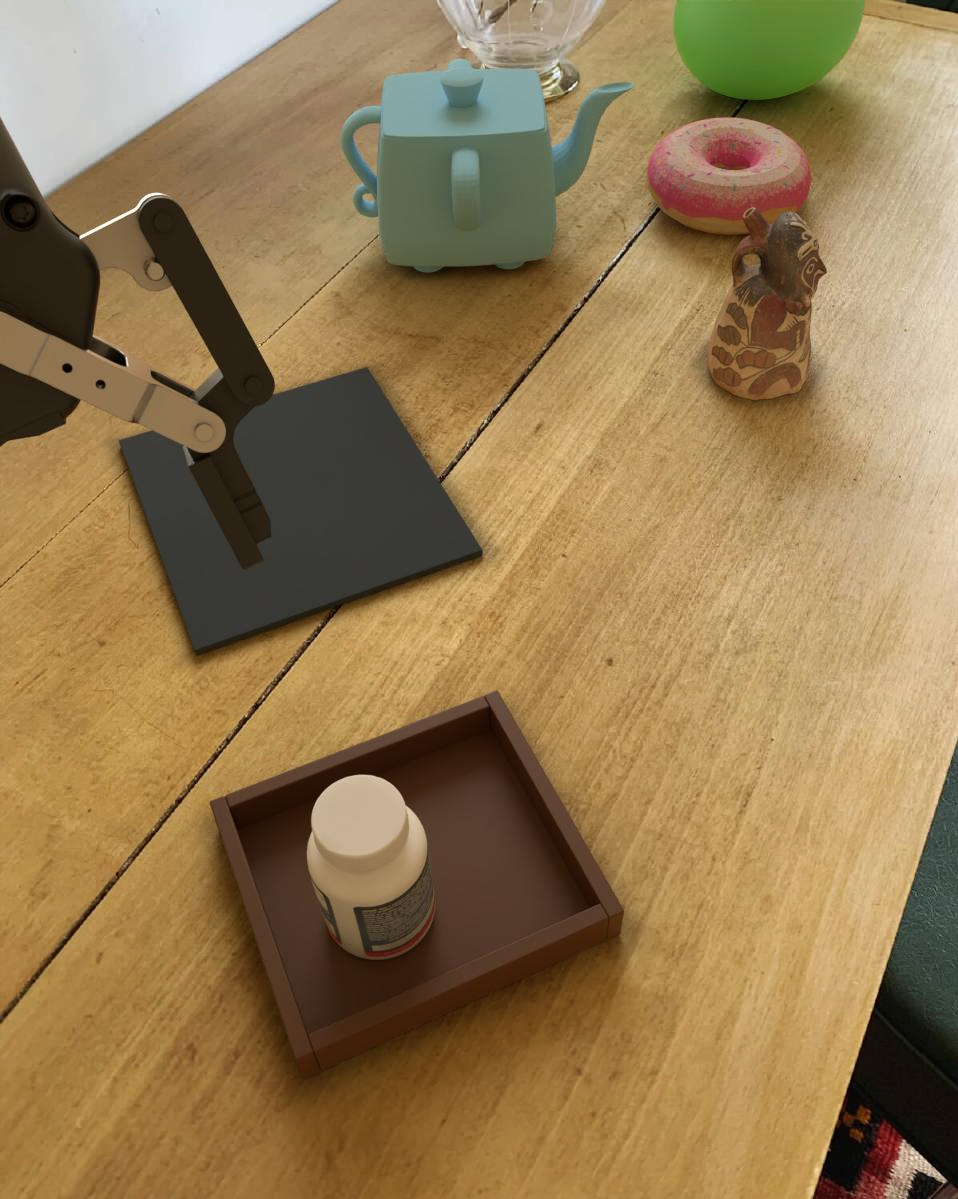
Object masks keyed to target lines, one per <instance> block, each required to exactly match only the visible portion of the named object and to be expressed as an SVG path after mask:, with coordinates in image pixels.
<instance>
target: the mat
mask: <svg viewBox="0 0 958 1199" xmlns="http://www.w3.org/2000/svg"><path fill="white" fill-rule="evenodd" d="M233 442H234V447H235V449H236V451H237V453H238V455H239V457H240V459H241V461H242V463H243V465H244V467H245V469H246V471H247V473H248V475H249V477H250V479H251V481H252V483H253V485H254V487H255V489H256V491H257V493H258V495H259V497H260V499H261V501H262V503H263V505H264V507H265V509H266V511H267V513H268V516H269V518H270V522H271V537H270V538H268V539H266V540H263V541H261V542H259V543H258V546H259V548H260V550H261V553H262V555H263V558H264V561H263V562H261V563H259V564H257V565H254V566H252V567H250V568H248V569H246V570H243V569H242V567H241V566H240V564H239V562H238V560H237V558H236V556H235V554H234V552H233V551H232V549H231V547H230V545H229V543H228V541H227V539H226V537H225V535H224V533H223V531H222V530H221V528H220V526H219V524H218V522H217V520H216V518H215V516H214V514H213V512H212V511H211V509H210V507H209V505H208V503H207V501H206V499H205V497H204V495H203V493H202V492H201V490H200V488H199V486H198V484H197V482H196V480H195V478H194V476H193V474H192V473H191V471H190V469H189V467H188V464H187V460H186V457H185V453H184V450H183V446H184V445H182V444H180V443H177V442H175V441H173V440H171V439H169V438H167V437H165V436H163V435H161V434H159V433H157V432H155V431H153V430H148V431H145V432H142V433H138V434H135V435H131V436H128V437H124V438H121V439H118V444H119V446H120V449H121V451H122V454H123V457H124V461H125V462H126V466H127V468H128V471H129V473H130V476H131V480H132V482H133V485H134V488H135V490H136V493H137V496H138V499H139V502H140V504H141V508H142V509H143V512H144V515H145V518H146V520H147V521H146V522H147V524H148V527H149V530H150V532H151V534H152V537H153V540H154V543H155V546H156V548H157V552H158V554H159V557H160V559H161V562H162V565H163V568H164V571H165V573H166V576H167V578H168V581H169V584H170V587H171V590H172V592H173V595H174V598H175V600H176V604H177V606H178V609H179V613H180V615H181V617H182V620H183V623H184V626H185V629H186V632H187V634H188V636H189V639H190V642H191V645H192V648H193V650H194V653H195V655H196V656H200V655H202V654H204V653H208V652H210V651H213V650H217V649H218V648H221V647H224V646H227V645H230V644H234V643H236V642H239V641H242V640H245V639H247V638H251V637H253V636H256V635H258V634H262V633H264V632H267V631H271V630H273V629H275V628H279V627H283V626H285V625H287V624H290V623H293V622H295V621H298V620H302V619H306V618H307V617H310V616H313V615H316V614H318V613H321V612H324V611H327V610H330V609H333V608H336V607H339V606H342V605H344V604H347V603H350V602H353V601H355V600H359V599H362V598H364V597H367V596H370V595H373V594H375V593H379V592H381V591H384V590H387V589H390V588H393V587H395V586H398V585H401V584H405V583H408V582H410V581H412V580H416V579H418V578H421V577H424V576H427V575H430V574H433V573H435V572H439V571H441V570H444V569H447V568H450V567H453V566H455V565H458V564H461V563H465V562H467V561H471V560H473V559H475V558H478V557H482V556H483V555H484V554H483V552H484V551H483V548H482V547H481V545H480V544H479V542H478V540H477V539H476V537H475V536H474V534H473V532H472V531H471V529H470V528H469V526H468V525H467V523H466V521H465V520H464V518H463V517H462V515H461V513H460V511H459V510H458V508H457V507H456V505H455V504H454V502H453V500H452V499H451V497H450V496H449V494H448V493H447V491H446V490H445V488H444V486H443V484H442V483H441V481H440V479H438V476H437V475H436V474H435V472H434V471H433V469H432V467H431V466H430V464H429V462H428V461H427V459H426V458H425V456H424V454H423V453H422V452H421V450H420V448H419V447H418V445H417V444H416V442H415V440H414V439H413V437H412V436H411V434H410V433H409V431H408V429H407V428H406V426H405V425H404V423H403V421H402V420H401V418H400V417H399V415H398V414H397V412H396V410H395V408H394V407H393V405H392V404H391V402H390V400H389V399H388V398H387V396H386V395H385V393H384V391H383V389H382V388H381V386H380V385H379V384H378V381H377V380H376V378H375V377H374V375H373V374H372V372H371V371H370V369H369V367H367V366H366V367H365V366H364V367H362V368H358V369H355V370H351V371H348V372H345V373H341V374H338V375H335V376H332V377H328V378H325V379H321V380H317V381H314V382H311V383H308V384H304V385H301V386H297V387H294V388H290V389H288V390H287V389H286V390H283V391H280V392H277V393H273V395H272V397H271V398H270V399H269V400H268V401H267V402H266V403H264V404H262V405H259V406H255V407H254V408H253V409H252V410H251V411H250V412H249V413H248V414H247V415H246V416H245V417H244V418H243V419H242V420H241V421H240V422H239V423H238V425H237V427H236V429H235V431H234V437H233Z"/></svg>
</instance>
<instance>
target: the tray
mask: <svg viewBox="0 0 958 1199" xmlns="http://www.w3.org/2000/svg"><path fill="white" fill-rule="evenodd" d="M354 775H371V776H375V777H380V778H382V779H384V780H386V781H388V782H389V783H391V784H392V785H393V786H394V787H395V788H396V789H397V790H398V791H399V792H400V794H401V796H402V797H403V800H404V802H405V805H406V806H407V807H408V808H410V809H411V810H412V811H413V812H414V814H415V815H416V816H417V817H418V819H419V820H420V822H421V824H422V826H423V828H424V831H425V834H426V839H427V844H428V850H429V858H430V865H431V872H432V879H433V886H434V892H435V913H434V917H433V921H432V923H431V926H430V928H429V930H428V931H427V933H426V934H425V936H424V937H423V938H422V939H421V941H420V942H419V943H418V944H417V945H416V946H414V947H413V948H412V949H410V950H409V951H407V952H405V953H404V954H402V955H399V956H397V957H394V958H390V959H384V960H370V959H365V958H361V957H358V956H355V955H353V954H351V953H349V952H347V951H346V950H345V949H343V948H342V947H341V946H340V945H339V944H338V943H337V942H336V941H335V940H334V939H333V937H332V936H331V934H330V932H329V930H328V928H327V925H326V922H325V919H324V916H323V914H322V910H321V908H320V905H319V902H318V899H317V896H316V893H315V889H314V886H313V883H312V880H311V876H310V874H309V869H308V863H307V846H308V841H309V838H310V835H311V833H312V825H311V816H312V811H313V808H314V805H315V803H316V801H317V799H318V798H319V796H320V795H321V794H322V793H323V792H324V790H325V789H327V788H328V787H329V786H330V785H332V784H333V783H335V782H337V781H339V780H341V779H343V778H346V777H349V776H354ZM209 807H210V809H211V813H212V815H213V818H214V821H215V824H216V828H217V830H218V833H219V836H220V840H221V842H222V845H223V848H224V851H225V854H226V857H227V861H228V862H229V866H230V869H231V872H232V876H233V878H234V881H235V883H236V887H237V890H238V892H239V896H240V898H241V902H242V904H243V908H244V910H245V913H246V916H247V920H248V922H249V925H250V928H251V931H252V934H253V937H254V940H255V944H256V946H257V949H258V952H259V955H260V958H261V961H262V964H263V967H264V971H265V974H266V977H267V979H268V984H269V985H270V989H271V991H272V994H273V997H274V1001H275V1004H276V1006H277V1009H278V1012H279V1016H280V1018H281V1021H282V1025H283V1028H284V1030H285V1034H286V1037H287V1039H288V1042H289V1045H290V1048H291V1051H292V1054H293V1057H294V1060H295V1062H296V1065H297V1066H298V1069H299V1071H300V1073H301V1075H302V1078H303V1079H304V1080H306V1079H308V1078H310V1077H313V1076H315V1075H318V1074H319V1073H321V1072H323V1071H326V1070H328V1069H330V1068H332V1067H334V1066H337V1065H338V1064H342V1063H344V1062H345V1061H348V1060H349V1059H352V1058H354V1057H356V1056H358V1055H360V1054H363V1053H365V1052H367V1051H369V1050H371V1049H374V1048H376V1047H378V1046H380V1045H382V1044H384V1043H387V1042H389V1041H391V1040H393V1039H395V1038H398V1037H400V1036H402V1035H404V1034H406V1033H408V1032H411V1031H412V1030H415V1029H417V1028H419V1027H422V1026H423V1025H426V1024H428V1023H430V1022H433V1021H435V1020H438V1019H439V1018H441V1017H443V1016H445V1015H448V1014H450V1013H452V1012H454V1011H456V1010H459V1009H461V1008H462V1007H465V1006H467V1005H469V1004H472V1003H473V1002H476V1001H478V1000H480V999H482V998H484V997H486V996H487V997H488V996H489V995H491V994H493V993H495V992H498V991H500V990H502V989H505V988H506V987H508V986H510V985H513V984H515V983H517V982H519V981H521V980H524V979H526V978H528V977H530V976H532V975H534V974H536V973H538V972H541V971H544V970H545V969H548V968H550V967H552V966H553V965H556V964H558V963H561V962H563V961H565V960H567V959H569V958H571V957H574V956H575V955H578V954H580V953H582V952H584V951H586V950H588V949H591V948H593V947H595V946H597V945H600V944H602V943H604V942H607V941H608V940H611V939H613V938H615V937H617V936H620V935H621V934H622V933H621V932H622V926H623V920H624V916H625V915H624V914H625V909H624V908H623V906H622V903H621V902H620V900H619V899H618V897H617V895H616V893H615V891H614V890H613V888H612V886H611V885H610V883H609V881H608V879H607V878H606V876H605V875H604V873H603V871H602V869H601V867H600V866H599V864H598V862H597V861H596V859H595V857H594V856H593V854H592V851H591V850H590V849H589V847H588V845H587V843H586V841H585V839H584V838H583V836H582V835H581V832H580V831H579V828H577V826H576V824H575V822H574V820H573V819H572V817H571V815H570V813H569V812H568V810H567V808H566V807H565V805H564V803H563V801H562V800H561V797H560V796H559V795H558V793H557V791H556V789H555V787H554V786H553V784H552V782H551V780H550V779H549V777H548V775H547V773H546V772H545V770H544V768H543V767H542V765H541V764H540V762H539V760H538V758H537V756H536V754H535V752H534V751H533V749H532V747H531V746H530V744H529V742H528V741H527V739H526V736H525V735H524V734H523V732H522V730H521V729H520V726H519V725H518V723H517V721H516V720H515V718H514V716H513V714H512V713H511V711H510V709H509V708H508V705H507V704H506V702H505V701H504V698H503V697H502V696H501V694H500V692H499V690H494V691H491V692H489V693H485V694H484V695H482V696H479V697H476V698H474V699H472V700H468V701H466V702H463V703H460V704H458V705H456V706H453V707H450V708H448V709H446V710H442V711H440V712H438V713H434V714H432V715H430V716H427V717H424V718H422V719H419V720H417V721H413V722H412V723H409V724H406V725H404V726H401V727H398V728H396V729H393V730H391V731H388V732H386V733H383V734H379V735H378V736H375V737H372V738H370V739H367V740H364V741H362V742H359V743H357V744H354V745H351V746H349V747H347V748H343V749H341V750H339V751H337V752H333V753H331V754H328V755H326V756H324V757H320V758H318V759H316V760H313V761H310V762H308V763H305V764H303V765H300V766H298V767H294V768H292V769H289V770H287V771H284V772H282V773H279V774H276V775H274V776H271V777H269V778H266V779H264V780H261V781H258V782H256V783H253V784H251V785H248V786H245V787H243V788H240V789H238V790H235V791H232V792H230V793H227V794H225V795H222V796H220V797H217V798H214V799H211V800H210V801H209Z"/></svg>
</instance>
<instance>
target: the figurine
mask: <svg viewBox="0 0 958 1199" xmlns="http://www.w3.org/2000/svg"><path fill="white" fill-rule="evenodd" d="M743 221H744V223H745V226H746V228H747V230H748V232H749V233H748V236H745V237H744V238H743V239H741V241H740V242H739V244H738V245H737V247H736V249H735V251H734V253H733V255H732V259H731V265H730V266H731V267H730V269H731V275H732V285H731V286H730V288H729V289H728V291H727V293H726V295H725V297H724V300H723V302H722V305H721V307H720V309H719V312H718V314H717V316H716V319H715V322H714V324H713V327H712V330H711V333H710V337H709V341H708V346H707V359H706V361H707V362H706V363H707V368H708V371H709V373H710V376H711V378H712V380H713V381H714V382H715V384H716V385H717V386H718V387H720V388H721V389H723V390H725V391H726V392H729V393H730V394H732V395H734V396H736V397H739V398H742V399H746V400H751V401H759V400H770V399H775V398H778V397H783V396H784V395H785V396H786V395H789V394H790V395H791V394H796V393H798V392H800V391H801V390H802V387H803V385H804V383H805V382H806V381H807V380H808V378H809V367H810V362H811V355H812V341H811V324H812V313H813V312H812V311H813V310H812V308H813V305H812V300H813V299H814V297H815V295H816V293H817V290H818V285H819V282H820V279H822V277H824V276H825V275H826V274H827V273H828V269H827V267H826V265H825V263H824V262H823V260H822V258H821V257H820V252H819V250H820V243H819V240H818V237H817V235H816V233H815V232H814V231H813V229H812V227H811V226H810V225H809V224H808V222H807V221H806V220H805V219H804V218H803V217H802V216H801V215H800V214H798V212H797V213H795V212H791V211H787V212H783V213H781V214H780V215H779V216H778V217H777V219H776V220H775V222H774V223H773V224H769V223H768V222H767V221H766V220H765V218H764V217H763V216H762V215H761V213H760V212H759V211H758V209H757V208H756V207H752V208H750V209H748V210H747V211H745V213H744V214H743ZM747 255H756V256H758V258H759V260H760V261H759V262H756V263H754V264H752V265H749V264H746V263H745V262H744V260H743V258H745V256H747Z"/></svg>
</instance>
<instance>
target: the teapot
mask: <svg viewBox="0 0 958 1199" xmlns="http://www.w3.org/2000/svg"><path fill="white" fill-rule="evenodd" d="M382 86H383V87H382V95H381V103H380V105H369V106H368V105H367V106H364V107H362V108H359V109H357V110H355V111H354V112H353V113H352V114H351V115H350V116H349V117H348V118H347V119H346V121H345V122H344V124H343V126H342V127H341V131H340V138H339V139H340V146H341V151H342V153H343V155H344V157H345V159H346V161H347V162H348V165H349V166H350V167H351V169H352V170H353V172H354V173H355V174H356V176H357V177H358V178H359V180H360V181H361V183H360V184H359V185H357V186H356V188H355V189H354V191H353V194H352V203H353V206H354V208H355V210H356V212H357V213H359V215H361V216H363V217H367V218H377V220H378V221H377V222H378V233H379V239H380V244H381V246H382V249H383V251H384V254H385V257H386V259H387V262H388V263H389V264H391V265H394V266H404V267H413V268H414V269H415V270H416V271H418V272H420V273H435V272H438V271H440V270H442V269H443V268H444V267H477V266H478V267H479V266H491V265H494V266H495V267H496V268H499V269H502V270H503V269H504V270H514V269H518V268H520V267H522V266H523V265H524V264H525V262H532V261H538V260H543V259H546V258H548V257H550V254H551V251H552V248H553V244H554V240H555V236H556V232H557V197H558V196H560V195H562V194H563V193H565V192H567V191H568V190H570V189H571V188H572V187H573V186H574V185H576V183H578V181H579V179H580V178H581V177H582V175H583V174H584V172H585V169H586V168H587V164H588V163H589V159H590V156H591V152H592V149H593V145H594V141H595V138H596V133H597V130H598V127H599V124H600V121H601V119H602V117H603V115H604V113H605V112H606V110H607V108H608V107H609V106H610V105H611V104H612V103H613V102H614V101H616V100H617V99H619V97H621V96H622V95H624V94H625V93H627V92H629V91H630V90H631V89H633V88H634V86H635V84H634V83H633V82H631V81H630V82H628V81H621V82H612V83H607V84H603V85H600V86H598V87H596V88H594V89H593V90H592V91H591V92H590V93H589V94H588V95H587V96H585V98H584V100H583V101H582V102H581V105H580V107H579V110H578V112H577V115H576V119H575V121H574V124H573V127H572V129H571V130H570V132H569V134H568V135H567V136H566V138H564V139H563V140H562V141H560V142H559V143H557V144H555V145H552V138H551V133H550V132H551V131H550V127H549V126H550V125H549V120H548V114H547V109H546V108H547V107H546V103H545V97H544V92H543V86H542V82H541V78H540V75H539V73H538V72H537V70H534V69H528V68H474V67H473V65H472V63H471V62H470V61H469V60H467V59H464V58H456V59H453V60H452V61H450V62H449V64H448V67H447V69H445V70H430V71H429V70H427V71H417V72H406V73H405V72H403V73H398V74H391V75H387V76H386V77H385V79H384V81H383V85H382ZM371 124H379V126H378V140H377V152H376V153H377V154H376V174H375V173H374V171H373V170H372V168H370V166H369V165H368V163H367V162H366V160H365V159H364V157H363V156H362V155H361V153H360V151H359V150H358V147H357V145H356V142H355V140H354V134H355V132H357V130H359V129H361V128H362V127H364V126H367V125H371ZM367 194H369V195H370V194H371V196H372V197H373V199H374V200H373V201H369V200H366V199H364V197H363V196H364V195H367Z"/></svg>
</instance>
